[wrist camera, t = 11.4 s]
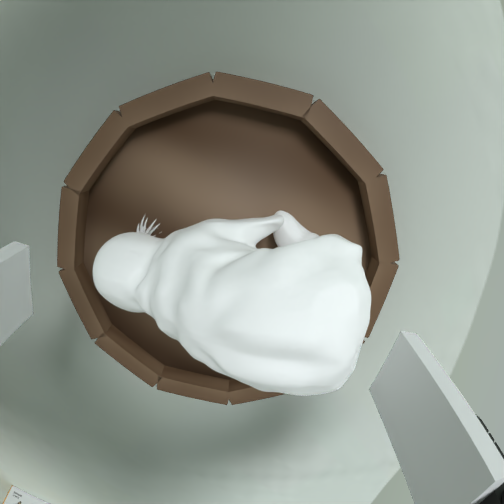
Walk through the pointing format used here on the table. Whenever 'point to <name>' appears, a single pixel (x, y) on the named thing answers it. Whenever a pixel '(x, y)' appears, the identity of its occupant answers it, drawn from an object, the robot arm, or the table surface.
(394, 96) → the table surface
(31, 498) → the packaging box
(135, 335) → the coaster
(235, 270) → the white piece
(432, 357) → the robot arm
